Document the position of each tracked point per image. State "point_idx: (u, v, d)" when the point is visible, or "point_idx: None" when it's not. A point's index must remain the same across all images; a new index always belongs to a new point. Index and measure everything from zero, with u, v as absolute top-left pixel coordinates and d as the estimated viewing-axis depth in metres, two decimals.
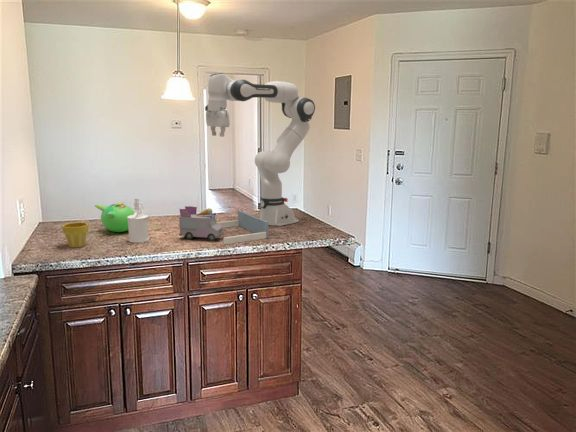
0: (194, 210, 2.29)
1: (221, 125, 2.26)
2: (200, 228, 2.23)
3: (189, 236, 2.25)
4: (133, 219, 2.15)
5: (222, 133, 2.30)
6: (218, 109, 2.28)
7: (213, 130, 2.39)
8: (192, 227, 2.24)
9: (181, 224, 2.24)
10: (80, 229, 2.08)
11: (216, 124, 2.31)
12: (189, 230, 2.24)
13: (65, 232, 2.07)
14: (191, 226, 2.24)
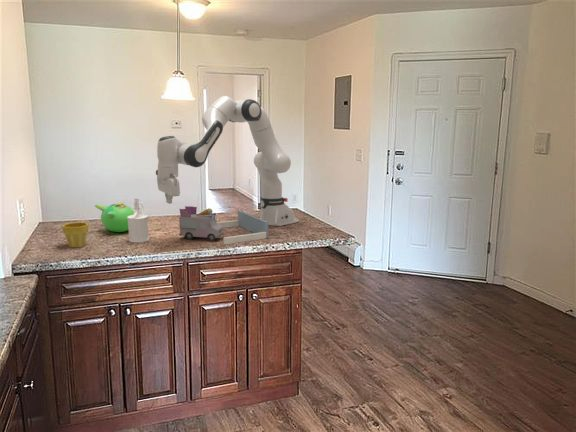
0: (194, 210, 2.29)
1: (170, 194, 2.07)
2: (200, 228, 2.23)
3: (189, 236, 2.25)
4: (133, 219, 2.15)
5: (169, 200, 2.14)
6: (168, 176, 2.09)
7: (167, 197, 2.16)
8: (192, 227, 2.24)
9: (181, 224, 2.24)
10: (80, 228, 2.08)
11: (166, 191, 2.12)
12: (189, 230, 2.24)
13: (65, 232, 2.07)
14: (191, 226, 2.24)
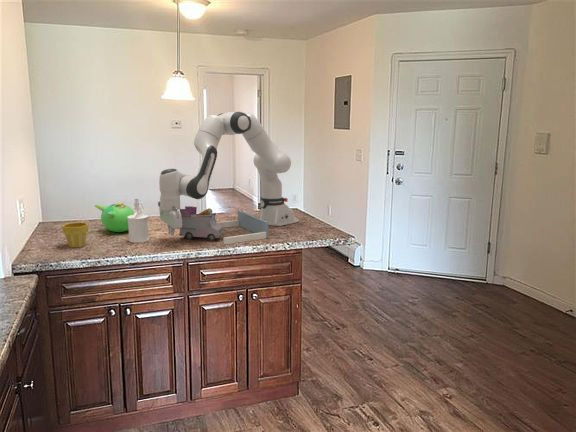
0: (194, 210, 2.29)
1: (173, 226, 2.11)
2: (200, 228, 2.23)
3: (189, 236, 2.25)
4: (133, 219, 2.15)
5: (172, 231, 2.18)
6: (170, 208, 2.12)
7: (170, 228, 2.20)
8: (192, 227, 2.24)
9: None
10: (80, 229, 2.08)
11: (169, 223, 2.15)
12: (189, 230, 2.24)
13: (65, 232, 2.07)
14: (191, 226, 2.24)
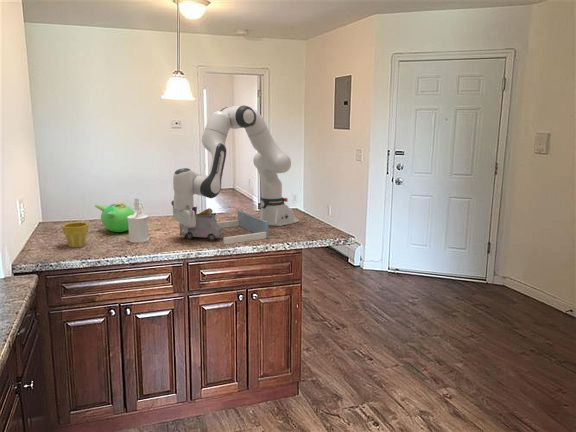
0: (194, 210, 2.29)
1: (187, 225, 2.14)
2: (200, 228, 2.23)
3: (189, 236, 2.25)
4: (133, 219, 2.15)
5: (185, 230, 2.21)
6: (184, 207, 2.16)
7: (183, 227, 2.23)
8: (192, 227, 2.24)
9: None
10: (80, 228, 2.08)
11: (182, 222, 2.19)
12: (189, 230, 2.24)
13: (65, 232, 2.07)
14: None
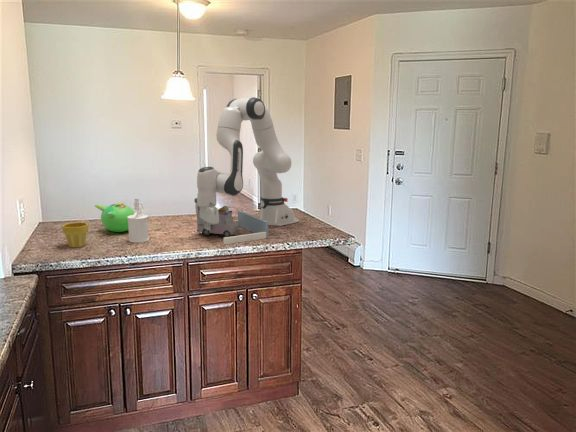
0: None
1: (210, 222, 2.20)
2: (216, 225, 2.30)
3: (206, 232, 2.32)
4: (133, 219, 2.15)
5: (208, 227, 2.27)
6: (207, 205, 2.22)
7: (206, 224, 2.29)
8: None
9: (198, 220, 2.32)
10: (80, 228, 2.08)
11: (205, 219, 2.25)
12: None
13: (65, 232, 2.07)
14: None
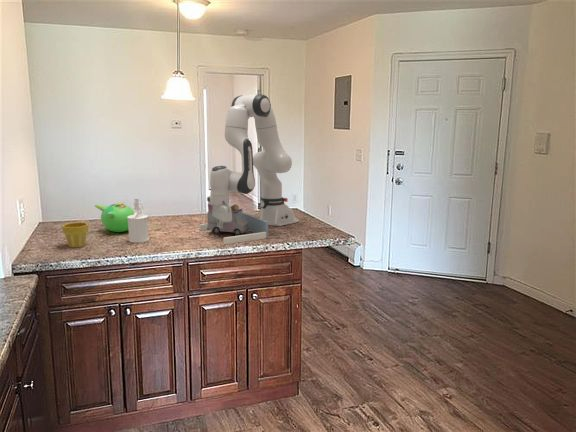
0: None
1: (223, 220, 2.23)
2: (226, 223, 2.33)
3: (216, 230, 2.36)
4: (133, 219, 2.15)
5: (221, 225, 2.31)
6: (220, 203, 2.25)
7: (218, 222, 2.33)
8: None
9: (209, 219, 2.35)
10: (80, 228, 2.08)
11: (218, 217, 2.28)
12: (216, 225, 2.35)
13: (65, 232, 2.07)
14: None
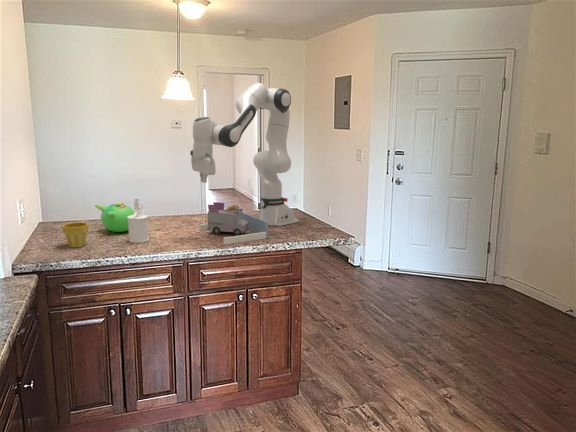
0: (222, 206, 2.40)
1: (207, 173, 2.15)
2: (226, 223, 2.34)
3: (216, 230, 2.36)
4: (133, 219, 2.15)
5: (204, 179, 2.22)
6: (203, 155, 2.17)
7: (202, 176, 2.24)
8: (219, 222, 2.34)
9: (209, 219, 2.36)
10: (80, 228, 2.08)
11: (202, 171, 2.20)
12: (216, 225, 2.35)
13: (65, 232, 2.07)
14: (218, 221, 2.34)
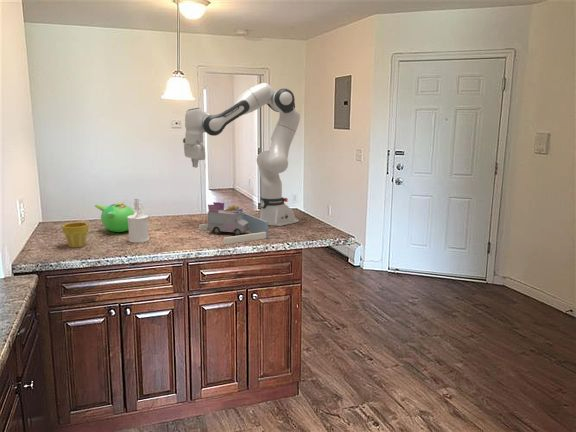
0: (222, 206, 2.40)
1: (197, 158, 2.38)
2: (226, 223, 2.34)
3: (216, 230, 2.36)
4: (133, 219, 2.15)
5: (195, 164, 2.45)
6: (194, 142, 2.40)
7: (193, 162, 2.47)
8: (219, 222, 2.34)
9: (209, 219, 2.36)
10: (80, 229, 2.08)
11: (193, 156, 2.43)
12: (216, 225, 2.35)
13: (65, 232, 2.07)
14: (218, 221, 2.34)
